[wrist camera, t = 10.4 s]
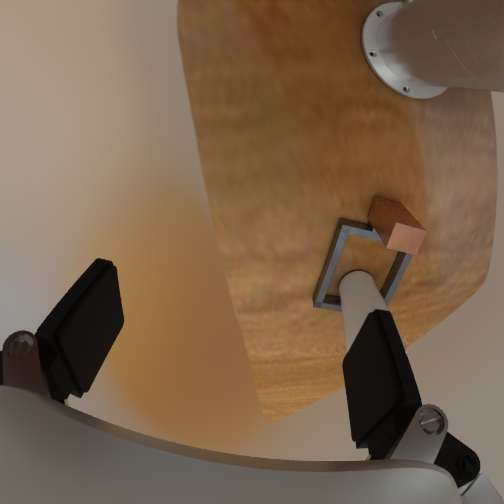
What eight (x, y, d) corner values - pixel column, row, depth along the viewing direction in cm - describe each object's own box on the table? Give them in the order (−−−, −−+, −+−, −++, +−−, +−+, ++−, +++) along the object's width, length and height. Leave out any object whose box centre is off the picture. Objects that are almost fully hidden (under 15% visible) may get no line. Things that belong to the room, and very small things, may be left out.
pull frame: (348, 188, 34) (365, 214, 27) (422, 209, 34) (449, 238, 27) (312, 298, 42) (316, 337, 35) (378, 308, 42) (390, 345, 35)
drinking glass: (384, 288, 40) (414, 366, 28) (345, 309, 43) (362, 389, 30) (366, 256, 38) (398, 335, 25) (324, 279, 41) (339, 363, 28)
